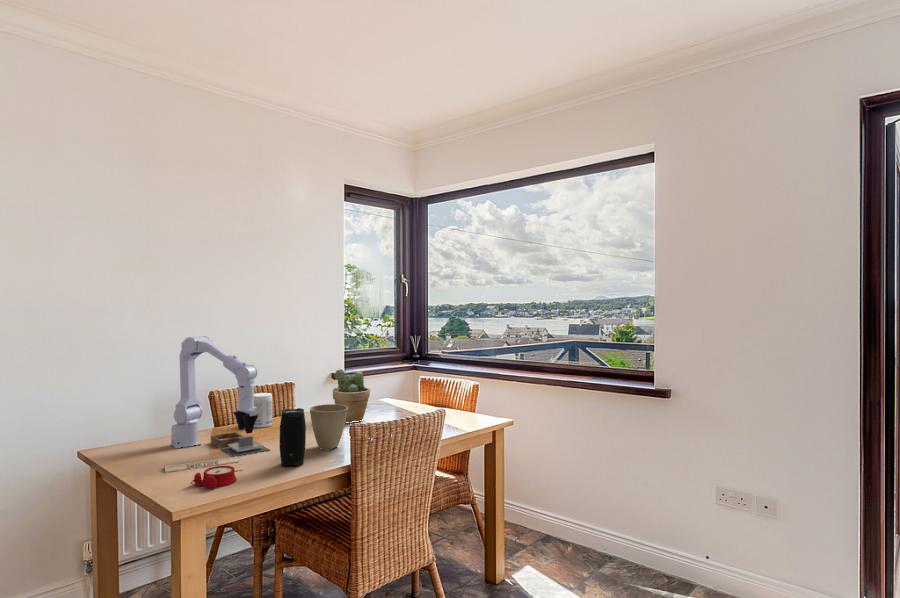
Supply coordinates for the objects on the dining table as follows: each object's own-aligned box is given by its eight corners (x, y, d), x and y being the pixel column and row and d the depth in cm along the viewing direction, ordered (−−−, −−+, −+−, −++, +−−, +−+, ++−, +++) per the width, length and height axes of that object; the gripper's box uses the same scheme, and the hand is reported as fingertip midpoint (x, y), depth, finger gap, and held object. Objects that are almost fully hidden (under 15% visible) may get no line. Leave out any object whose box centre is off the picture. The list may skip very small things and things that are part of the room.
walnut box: (219, 448, 214) (219, 440, 214) (210, 443, 222) (211, 435, 222) (244, 443, 221) (244, 436, 221) (235, 439, 229) (235, 432, 229)
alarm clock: (246, 468, 178) (207, 470, 165) (242, 488, 177) (203, 491, 164) (224, 463, 183) (185, 465, 170) (221, 482, 182) (181, 485, 169)
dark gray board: (233, 457, 202) (233, 456, 202) (220, 449, 213) (220, 448, 213) (269, 450, 212) (269, 449, 212) (256, 443, 222) (256, 442, 222)
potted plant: (371, 416, 275) (372, 367, 275) (368, 425, 257) (368, 372, 257) (335, 417, 274) (335, 367, 274) (329, 425, 256) (329, 372, 256)
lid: (236, 454, 205) (237, 442, 205) (227, 448, 213) (227, 436, 213) (263, 449, 212) (263, 437, 212) (253, 444, 220) (253, 432, 220)
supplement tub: (267, 422, 260) (268, 392, 260) (275, 426, 253) (275, 394, 253) (247, 425, 254) (247, 394, 254) (254, 429, 246) (255, 396, 246)
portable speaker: (298, 469, 189) (298, 413, 189) (274, 466, 191) (274, 411, 191) (309, 461, 198) (310, 408, 198) (286, 459, 200) (287, 406, 200)
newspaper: (235, 460, 201) (235, 455, 201) (239, 465, 195) (239, 460, 195) (164, 470, 189) (164, 465, 189) (165, 475, 183) (165, 470, 183)
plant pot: (304, 452, 210) (305, 411, 210) (315, 442, 225) (315, 403, 225) (342, 453, 210) (343, 411, 210) (350, 443, 224) (351, 404, 225)
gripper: (263, 398, 210) (262, 433, 210) (249, 393, 220) (248, 426, 220) (245, 400, 205) (244, 436, 205) (231, 394, 216) (231, 428, 216)
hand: (245, 431), depth 212 cm, fingers open, 7 cm apart
